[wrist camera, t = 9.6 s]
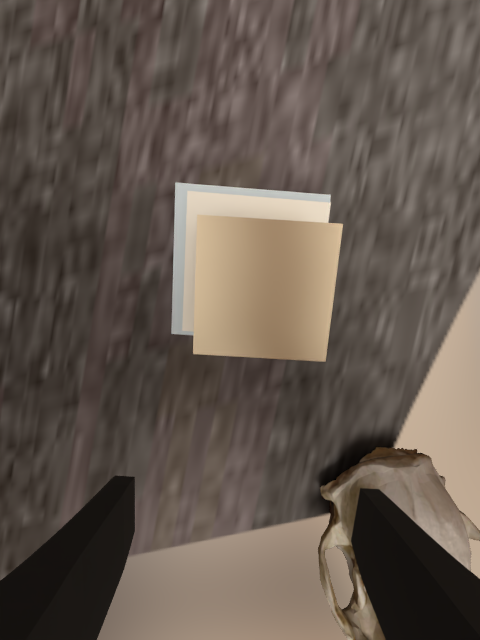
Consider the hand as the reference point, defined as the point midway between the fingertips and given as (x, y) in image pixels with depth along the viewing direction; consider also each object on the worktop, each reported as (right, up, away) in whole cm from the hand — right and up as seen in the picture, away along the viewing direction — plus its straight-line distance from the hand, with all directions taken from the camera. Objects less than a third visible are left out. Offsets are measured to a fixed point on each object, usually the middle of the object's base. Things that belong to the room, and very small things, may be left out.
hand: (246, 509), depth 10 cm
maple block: (+1, +8, +5) cm, 9 cm away
